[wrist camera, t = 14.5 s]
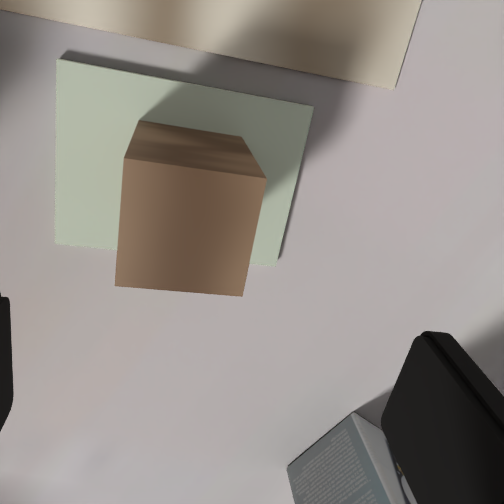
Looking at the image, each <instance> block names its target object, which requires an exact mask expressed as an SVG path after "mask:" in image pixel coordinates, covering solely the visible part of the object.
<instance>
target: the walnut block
mask: <svg viewBox="0 0 504 504" xmlns="http://www.w3.org/2000/svg"><path fill="white" fill-rule="evenodd" d="M266 182H267V178H266V176H265V174H264V173H263V171H262V169H261V168H260V166H259V164H258V163H257V161H256V160H255V158H254V156H253V155H252V153H251V151H250V150H249V148H248V146H247V145H246V143H245V141H244V140H243V138H242V137H240V136H234V135H228V134H222V133H216V132H210V131H203V130H197V129H191V128H185V127H179V126H173V125H167V124H161V123H154V122H148V121H142V120H139V121H138V123H137V126H136V128H135V131H134V133H133V136H132V138H131V141H130V143H129V146H128V148H127V151H126V153H125V156H124V161H123V175H122V189H121V203H120V218H119V232H118V246H117V260H116V275H115V286H121V287H133V288H145V289H157V290H169V291H181V292H193V293H205V294H217V295H229V296H241V297H242V296H243V291H244V286H245V282H246V277H247V272H248V267H249V262H250V258H251V253H252V248H253V243H254V239H255V234H256V229H257V224H258V220H259V215H260V210H261V205H262V201H263V196H264V191H265V186H266Z"/></svg>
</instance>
